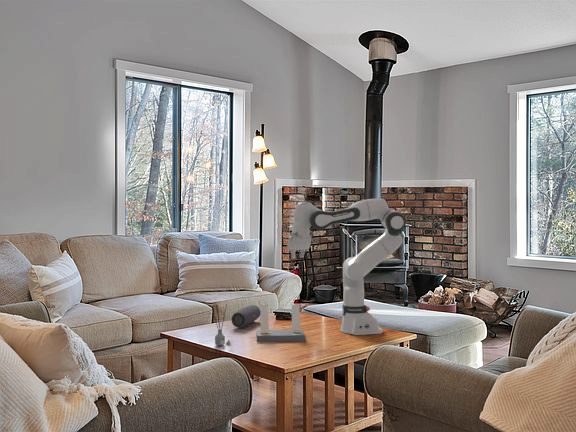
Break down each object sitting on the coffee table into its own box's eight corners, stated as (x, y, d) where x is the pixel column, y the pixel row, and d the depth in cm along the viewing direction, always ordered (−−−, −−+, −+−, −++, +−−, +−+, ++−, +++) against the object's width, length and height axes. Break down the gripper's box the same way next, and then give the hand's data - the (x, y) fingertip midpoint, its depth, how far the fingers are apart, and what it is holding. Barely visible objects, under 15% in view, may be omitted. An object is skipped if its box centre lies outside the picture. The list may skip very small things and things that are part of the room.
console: (302, 335, 314) (302, 329, 314) (305, 341, 302) (305, 335, 302) (256, 336, 312) (256, 330, 312) (257, 341, 300) (257, 335, 300)
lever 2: (299, 331, 309) (299, 304, 313) (300, 330, 307) (299, 303, 312) (292, 331, 309) (291, 304, 313) (292, 330, 307) (291, 303, 311)
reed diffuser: (214, 348, 288) (214, 306, 287) (207, 345, 294) (207, 304, 293) (232, 344, 294) (232, 303, 294) (225, 342, 300) (225, 301, 299)
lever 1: (268, 331, 308) (268, 304, 312) (268, 331, 306) (268, 303, 310) (260, 331, 307) (260, 304, 312) (260, 331, 306) (260, 303, 310)
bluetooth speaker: (246, 330, 325) (246, 312, 324) (230, 329, 328) (230, 310, 327) (261, 322, 346) (261, 304, 346) (246, 320, 349) (246, 303, 349)
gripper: (296, 233, 310) (293, 260, 310) (314, 232, 328) (311, 257, 329) (286, 231, 313) (283, 258, 313) (303, 230, 331) (300, 256, 331)
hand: (297, 258), depth 321 cm, fingers open, 8 cm apart
